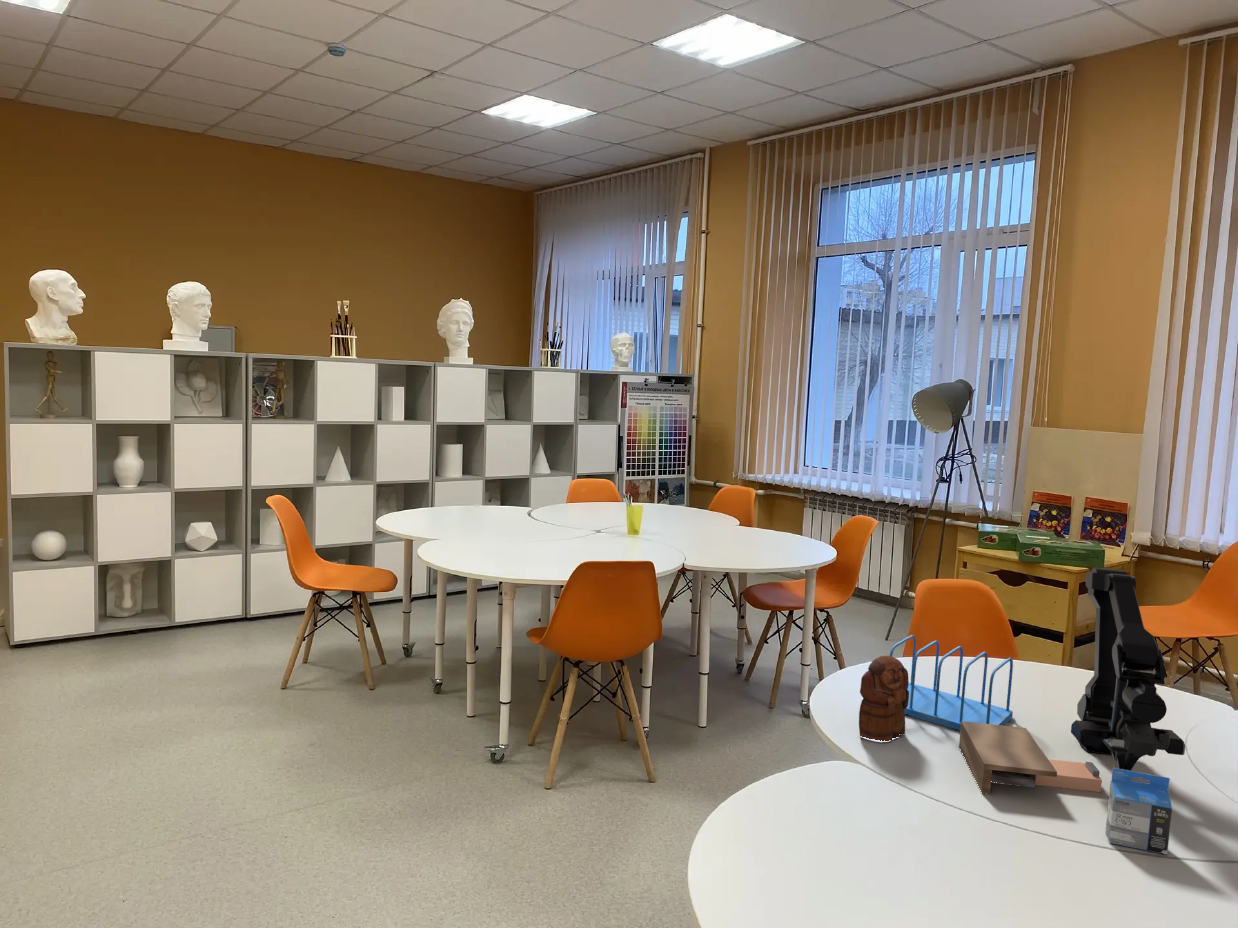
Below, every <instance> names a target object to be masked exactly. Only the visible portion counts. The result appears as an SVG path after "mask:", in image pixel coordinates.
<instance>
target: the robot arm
mask: <svg viewBox="0 0 1238 928" xmlns="http://www.w3.org/2000/svg"><path fill="white" fill-rule="evenodd" d="M1136 583H1137V582H1136V576H1134V575H1131V574H1127V571H1126V570H1124V569H1123V570H1122V569H1114V568H1102V567H1093V568H1092V570H1091V571H1087V572H1086V575H1085V587H1086V588H1087V594H1088V595H1087V596H1088V597H1089V599H1090V601H1091V603H1092V604H1093V605H1094V607H1095V629H1094V632H1095V634H1094V636H1095V637H1094V669H1093V671H1094V672H1093V676H1092V678H1091V679H1090V680H1089V681H1088V682H1087V684H1086V685H1085V687H1084V694H1082V696H1081V698H1080V699H1079V701H1078V702H1077V706H1076V707H1077V710H1076V711H1077V712H1076V715H1077V716H1078V718H1079V719H1080V720H1079V719H1078V720H1077V719H1075V721H1073V722H1072V724H1071V728H1070V733H1071V734H1072V735H1073V737H1074V738H1075V739H1076V740H1077V742H1078V743H1079V744H1080V745H1081V747H1082V748H1083V749H1084V750H1085V751H1086V752H1087V753H1093V754H1103V755H1111V756H1112V759H1113V761H1114V765H1115V768H1118V769H1123V770H1129V771H1132V770H1133V767H1134V766H1135V764H1136V763H1137V762H1138V761H1139V760H1140V758H1142V757H1145V756H1149V757H1154V756H1155V757H1156V754H1157V751H1165V752H1166V753H1167V755H1168V754H1169V755H1178V756H1184V755H1185V753H1186V744H1185V741H1184V740H1183V739H1182V738H1181V737H1180V736H1179V735H1178V734H1176V733H1175V732H1174V731H1173V730H1172V729H1164V728H1156V727H1152V725H1151V724H1154V723H1158V722H1160V721H1161V720H1162V719H1163V718H1164V717H1165V716H1166V713H1167V704H1166V703H1165V700H1164V699H1163V698H1162V697H1161V695H1159V693H1158V692H1157V690H1158V689H1157V687H1156V684H1159V685H1165V678H1166V676H1167V671H1166V665H1165V661H1164V656H1163V654H1162V650H1161V649H1160V648H1159V647H1158V644H1157V641H1156V639H1155V636H1154V635H1152V633H1150V632H1149V630H1147V629H1145V626H1144V622H1143V619H1142V613H1141V610H1140V606H1139V602H1138V597H1137V593H1136V589H1137V588H1136V587H1137V584H1136ZM1153 671H1154V672H1155V673H1154V672H1153ZM1152 672H1153V673H1152Z"/></svg>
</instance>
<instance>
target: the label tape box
mask: <svg viewBox="0 0 1238 928" xmlns="http://www.w3.org/2000/svg"><path fill="white" fill-rule="evenodd" d="M1132 778H1133V779H1139V778H1140V779H1142V780H1145V781H1148V782H1149V783H1147V782H1142V781H1138V780H1137V781H1136V780H1132ZM1170 780H1171V778H1170V777H1166V776H1162V775H1161V776H1160V775H1154V774H1150V773H1145V772H1139V771H1135V770H1131V771H1129V770H1123V769H1118V768H1116V767H1112V772H1111V780H1110V785H1109V793H1108V794H1109V796H1108V803H1107V814H1106V823H1105V835H1106V837H1107V841H1108V843H1109V844H1112V845H1118V846H1123V847H1129V848H1133V849H1137V848H1138V850H1143V851H1147V850H1148V852H1152V853H1157V852H1159V853H1158V854H1161V853H1163V854H1162V855H1166V854H1167V855H1168V849H1169V843H1170V842H1169V841H1170V834H1171V833H1170V832H1171V823H1172V816H1173V806H1172V802H1171V798H1170V793H1169V786H1170Z"/></svg>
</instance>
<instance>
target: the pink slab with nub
mask: <svg viewBox="0 0 1238 928" xmlns="http://www.w3.org/2000/svg"><path fill="white" fill-rule="evenodd" d="M1048 760H1049V761H1050V763H1051V764H1052V765H1053V767H1054V768H1055V770H1056V771H1057V777H1052V776H1043V775H1034V774H1028V777H1029V778H1030V777H1031V778H1034V779H1035V786H1045V787H1053V788H1060V787H1061V788H1063V789H1069V788H1070V790H1076V791H1077V790H1080V791H1087V792H1095V793H1101V791H1102V785H1103V779H1102V778H1101V777H1100V770H1099V769H1098V767H1097V766H1096V765H1095V764H1094V763H1093V762H1092V761H1085V762H1078V761H1077V762H1076V761H1070V760H1069V761H1068V760H1059V759H1051V758H1048ZM1061 788H1060V789H1061Z"/></svg>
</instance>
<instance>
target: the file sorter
mask: <svg viewBox="0 0 1238 928" xmlns="http://www.w3.org/2000/svg"><path fill="white" fill-rule="evenodd" d="M910 639H912V640H913V644H912V645H913V647H912V659H911V674H910V682H909V684H908V689H907V690H908V691H909V702H908V706H907V708H906V709H904V713H905V715H906V714H908V715H907V716H909V715H910V716H909V717H913V716H914V717H913V718H916V719H920V720H924V721H927V722H930V723H933V724H934V723H935V724H937V725H941V726H944V727H947V728H951V729H954V730H958V731H960V729H961V721H965V722H974V723H984V724H993V725H1003V726H1006V724H1007V723H1008V722H1009V721H1010V720H1011V719H1012V718H1013V717H1014V716H1013V713H1014V712H1013V710H1012V709H1010V703H1011V693H1012V680H1013V670H1014V660H1013V658H1011V657H1008V658H1006V659H1005V660H1004V661H1002V662H1001V663H1000V664H998V665H997V666H995V668H994V669H993V670H992V672H991V674H990V679H989V688H988V698H987V703H986V702H985V694H986V684H987V683H986V682H987V673H988V661H989V660H988V659H989V658H988V657H989V656H988V653H987V652H986V651H982V652H981V653H978V655H977V656H975V657H974V658H972V659H971V660H970V661H969V662H968V663H966V666H965V668H964V671H963V661H964V660H963V659H964V649H963V647H962V646H961V645H958V646H957V647H955V648H953V649H952V650H950V651H949V652H947V653H946V654H944V655H943V656H942V657H941V658H940V660H939V657H940V642H939V641H938V640H934V641H931V642H930V643H927V645H924V646H923V647H922V648H920V649H918V650H917V652H916V649H917V638H916V637H915V635H913V634H911V635H909V636H907V637H904V638H903V639H902V640H900V641H898V642H896V643H894V645H892V647H891V648H890V650H889V651H890V652H889V656H892V657H893V655H894V651H895V649H896V648H897V647H899V646H901V645H902V644H903V643H906V642H907V641H909V640H910ZM935 644H936V652H935V653H936V654H935V664H934V665H935V666H934V674H933V675H934V677H933V678H934V679H933V688H931V687H927V686H923V685H919V684H916V683H915V681H916V670H917V663H918V662H917V661H918V658H919V656H920V654H921V653H922V652H924V651H926V650H927V649H929V648H931V647H932V646H934V645H935ZM958 650H959V652H960V653H959V655H960V656H959V667H958V678H957V688H956V694H952V693H949V692H947V691H941V690H940V681H941V671H942V665H943V662H944V660H945V659H946V658H948V657H949V656H951V655H952V654H954V653H956V652H957V651H958ZM982 657H984V666H983V676H982V688H981V699H980V701H978V700H975V699H971V698H967V697H965V694H966V683H967V682H966V681H967V674H968V671H969V668H970V667H971V665H973V664H974V663H975V662H976V661H978V660H979V659H981V658H982ZM1007 663H1009V673H1008V674H1009V676H1008V684H1007V685H1008V687H1007V697H1006V707H1000V706H998V705H993V704H992V695H993V683H994V678H995V675H996V673H997V671H999V670H1000V669H1001V668H1003V667H1004V666H1005V665H1006V664H1007ZM962 671H963V677H962ZM961 682H962V686H961ZM960 694H961V696H960Z"/></svg>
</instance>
